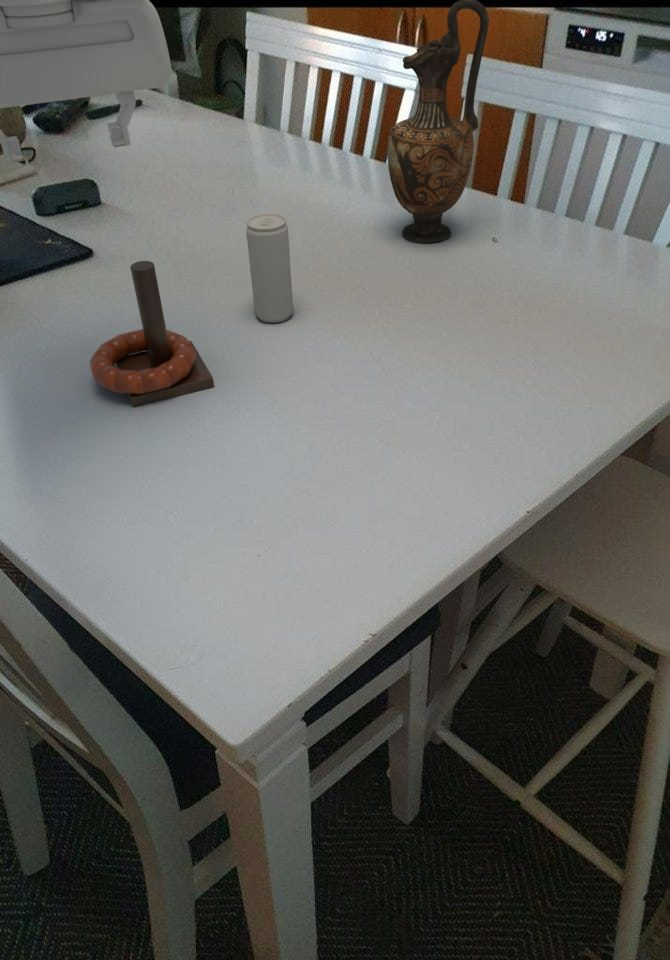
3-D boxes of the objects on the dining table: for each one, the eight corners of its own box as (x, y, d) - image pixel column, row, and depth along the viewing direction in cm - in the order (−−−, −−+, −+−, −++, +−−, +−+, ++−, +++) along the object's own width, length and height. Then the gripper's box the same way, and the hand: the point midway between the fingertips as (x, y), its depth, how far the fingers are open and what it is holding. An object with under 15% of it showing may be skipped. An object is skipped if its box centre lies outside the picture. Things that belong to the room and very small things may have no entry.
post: (132, 407, 86) (106, 293, 77) (115, 367, 92) (89, 257, 84) (214, 387, 88) (197, 274, 80) (192, 349, 95) (174, 241, 86)
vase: (396, 216, 124) (400, -11, 104) (477, 222, 121) (496, -10, 102) (378, 247, 115) (378, 6, 96) (465, 255, 112) (483, 8, 93)
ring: (103, 407, 84) (98, 388, 82) (86, 357, 92) (81, 338, 90) (207, 382, 87) (204, 363, 85) (182, 335, 95) (179, 317, 93)
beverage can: (251, 323, 99) (240, 228, 91) (260, 305, 103) (251, 212, 95) (289, 325, 98) (282, 230, 91) (297, 307, 102) (291, 213, 94)
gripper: (-114, -10, 59) (-52, 181, 68) (161, -34, 65) (186, 145, 73) (-114, -21, 63) (-55, 160, 72) (144, -42, 69) (169, 127, 78)
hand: (68, 152), depth 73 cm, fingers open, 8 cm apart
